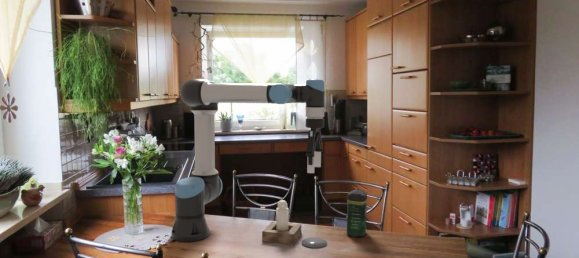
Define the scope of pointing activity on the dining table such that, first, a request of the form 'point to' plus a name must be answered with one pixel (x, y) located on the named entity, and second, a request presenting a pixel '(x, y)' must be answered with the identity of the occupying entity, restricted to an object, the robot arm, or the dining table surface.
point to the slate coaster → (314, 242)
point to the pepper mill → (282, 216)
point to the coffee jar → (356, 213)
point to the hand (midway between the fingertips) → (314, 169)
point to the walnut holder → (281, 233)
